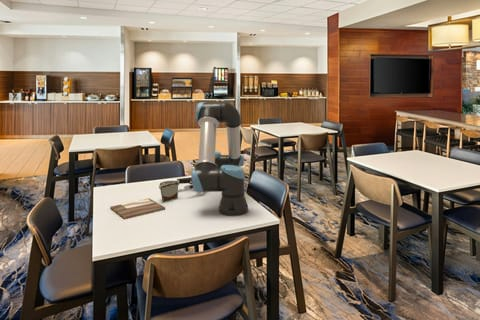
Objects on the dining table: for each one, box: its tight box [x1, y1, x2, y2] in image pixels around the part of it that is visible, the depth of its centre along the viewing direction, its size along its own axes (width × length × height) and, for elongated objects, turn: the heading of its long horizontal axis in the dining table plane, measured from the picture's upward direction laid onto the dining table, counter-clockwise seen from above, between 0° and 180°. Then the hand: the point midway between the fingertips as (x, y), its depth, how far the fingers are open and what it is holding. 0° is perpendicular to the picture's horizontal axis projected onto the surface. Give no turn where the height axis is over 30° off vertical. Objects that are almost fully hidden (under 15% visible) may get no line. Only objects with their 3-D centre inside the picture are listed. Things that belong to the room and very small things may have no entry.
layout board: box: [109, 198, 166, 220], centre depth 190 cm, size 20×22×1 cm
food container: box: [158, 180, 180, 203], centre depth 205 cm, size 12×6×10 cm, turn 135°
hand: (177, 186), depth 211 cm, fingers open, 13 cm apart
